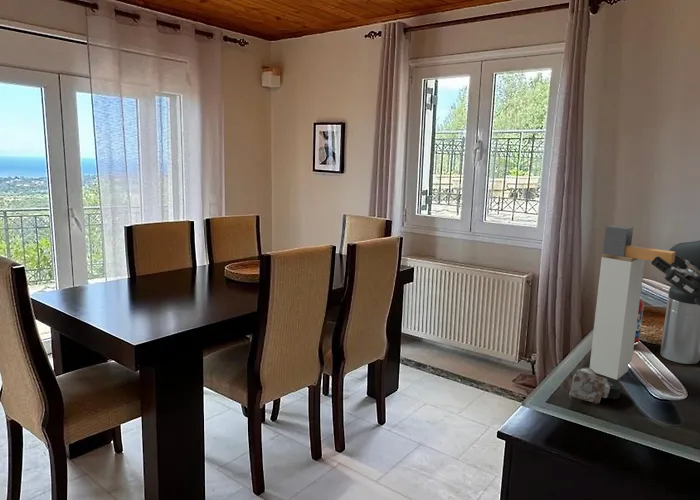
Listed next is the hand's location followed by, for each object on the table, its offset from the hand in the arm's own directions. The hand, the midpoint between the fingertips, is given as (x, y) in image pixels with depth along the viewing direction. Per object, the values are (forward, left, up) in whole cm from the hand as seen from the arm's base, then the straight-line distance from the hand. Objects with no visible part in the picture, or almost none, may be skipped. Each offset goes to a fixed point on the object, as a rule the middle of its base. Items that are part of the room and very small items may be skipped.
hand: (660, 256), depth 119 cm
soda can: (-14, -23, -33) cm, 43 cm away
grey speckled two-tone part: (+15, +2, -33) cm, 37 cm away
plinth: (+2, -9, -33) cm, 34 cm away
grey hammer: (+2, -4, -1) cm, 5 cm away
